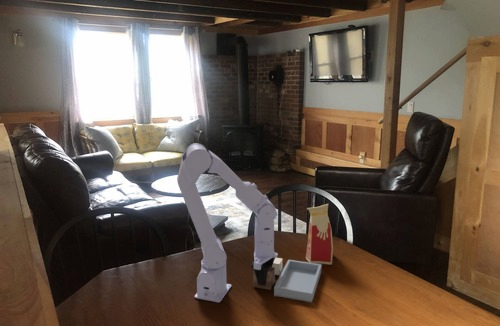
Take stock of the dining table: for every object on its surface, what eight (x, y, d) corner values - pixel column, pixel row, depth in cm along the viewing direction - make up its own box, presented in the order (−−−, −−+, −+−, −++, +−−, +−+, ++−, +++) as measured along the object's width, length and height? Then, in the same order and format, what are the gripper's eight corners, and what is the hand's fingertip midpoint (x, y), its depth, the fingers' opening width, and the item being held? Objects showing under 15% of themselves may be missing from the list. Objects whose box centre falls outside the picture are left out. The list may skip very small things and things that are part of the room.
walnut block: (270, 289, 115) (270, 274, 114) (253, 286, 117) (253, 271, 116) (274, 282, 120) (274, 267, 118) (257, 279, 121) (257, 264, 120)
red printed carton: (330, 252, 140) (332, 199, 135) (333, 264, 131) (335, 208, 126) (304, 251, 140) (306, 199, 136) (305, 263, 131) (307, 207, 127)
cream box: (279, 275, 124) (279, 264, 123) (267, 273, 125) (267, 262, 124) (282, 269, 128) (282, 258, 127) (270, 267, 129) (270, 256, 128)
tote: (311, 302, 109) (312, 293, 108) (274, 295, 112) (274, 287, 112) (321, 272, 125) (321, 264, 125) (288, 267, 129) (288, 259, 128)
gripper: (270, 251, 107) (270, 295, 110) (283, 231, 120) (282, 271, 123) (246, 247, 109) (246, 290, 112) (261, 228, 123) (261, 267, 126)
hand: (264, 280), depth 118 cm, fingers closed on walnut block, 4 cm apart
